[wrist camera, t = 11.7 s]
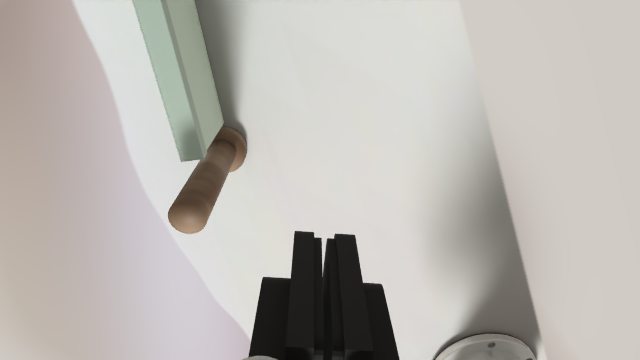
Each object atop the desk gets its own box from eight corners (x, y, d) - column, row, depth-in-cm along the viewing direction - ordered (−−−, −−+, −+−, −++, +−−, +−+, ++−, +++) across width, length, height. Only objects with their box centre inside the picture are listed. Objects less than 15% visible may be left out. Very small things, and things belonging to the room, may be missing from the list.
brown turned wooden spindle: (249, 167, 37) (223, 242, 27) (205, 169, 37) (162, 245, 27) (244, 125, 36) (214, 188, 25) (198, 127, 36) (148, 190, 25)
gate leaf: (226, 122, 35) (204, 159, 28) (208, 124, 35) (181, 161, 28) (179, -73, 29) (135, -91, 22) (157, -69, 29) (106, -86, 22)
